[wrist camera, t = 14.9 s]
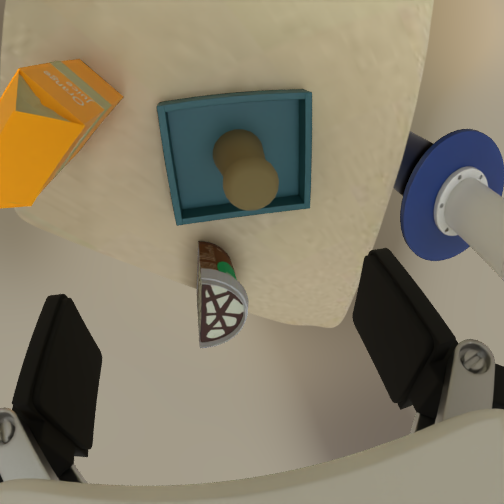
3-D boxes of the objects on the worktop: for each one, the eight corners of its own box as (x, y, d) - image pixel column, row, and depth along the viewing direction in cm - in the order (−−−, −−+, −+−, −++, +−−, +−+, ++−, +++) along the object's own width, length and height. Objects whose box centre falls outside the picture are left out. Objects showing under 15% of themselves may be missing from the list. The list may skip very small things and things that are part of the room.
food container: (235, 299, 51) (245, 349, 43) (196, 300, 50) (199, 350, 42) (244, 232, 44) (257, 279, 36) (198, 231, 43) (201, 279, 35)
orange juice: (36, 116, 30) (-67, 183, 13) (79, 57, 27) (-22, 75, 11) (79, 153, 34) (3, 244, 18) (125, 97, 31) (59, 147, 15)
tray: (303, 89, 34) (312, 92, 32) (303, 198, 43) (310, 208, 40) (159, 102, 32) (156, 106, 30) (177, 214, 41) (176, 225, 39)
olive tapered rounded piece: (268, 133, 36) (294, 164, 27) (257, 179, 40) (278, 223, 31) (217, 125, 35) (226, 154, 26) (208, 173, 38) (214, 217, 29)
